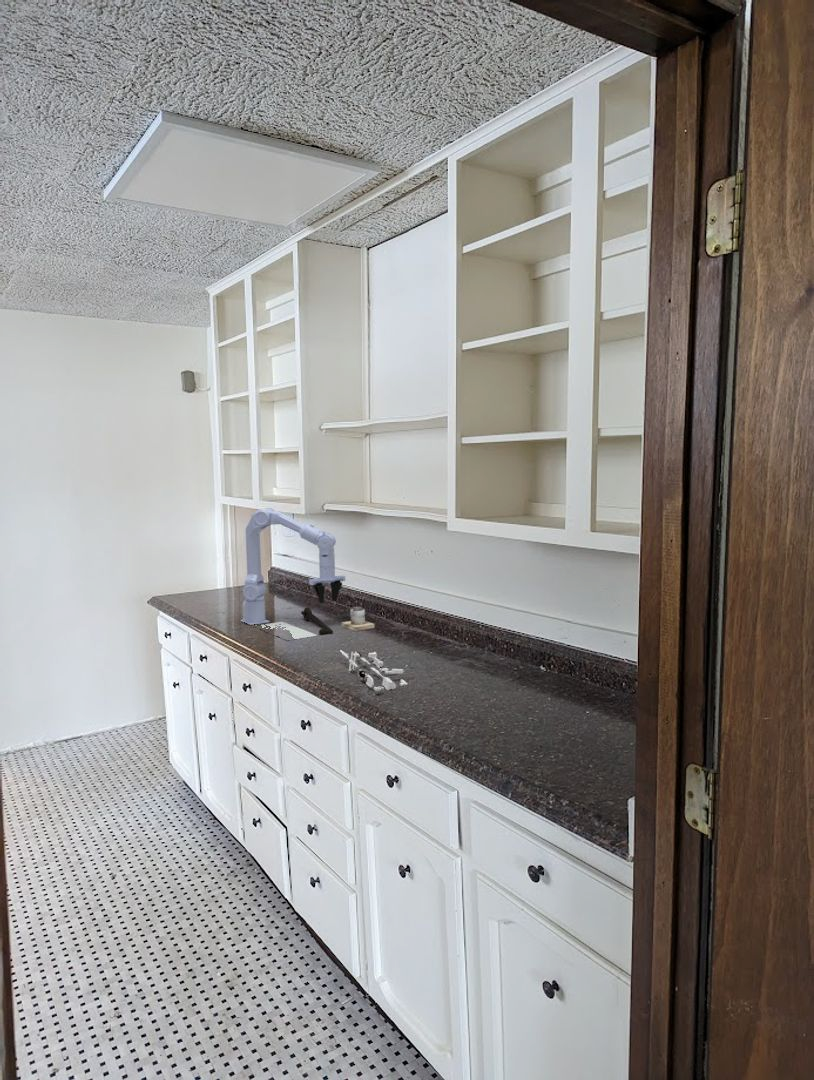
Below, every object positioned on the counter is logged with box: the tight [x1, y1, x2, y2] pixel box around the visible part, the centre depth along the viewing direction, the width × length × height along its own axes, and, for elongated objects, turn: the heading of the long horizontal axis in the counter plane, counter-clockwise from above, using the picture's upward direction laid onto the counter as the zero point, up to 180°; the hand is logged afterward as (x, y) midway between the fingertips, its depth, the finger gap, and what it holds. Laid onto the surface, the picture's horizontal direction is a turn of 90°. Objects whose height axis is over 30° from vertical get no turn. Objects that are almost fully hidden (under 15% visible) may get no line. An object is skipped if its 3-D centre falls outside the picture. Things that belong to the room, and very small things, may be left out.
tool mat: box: [260, 621, 319, 640], centre depth 256 cm, size 28×12×1 cm, turn 37°
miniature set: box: [339, 649, 409, 692], centre depth 202 cm, size 6×35×12 cm
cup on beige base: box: [341, 606, 375, 632], centre depth 260 cm, size 10×8×7 cm
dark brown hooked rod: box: [300, 607, 334, 636], centre depth 263 cm, size 5×5×30 cm
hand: (328, 601), depth 266 cm, fingers open, 5 cm apart
